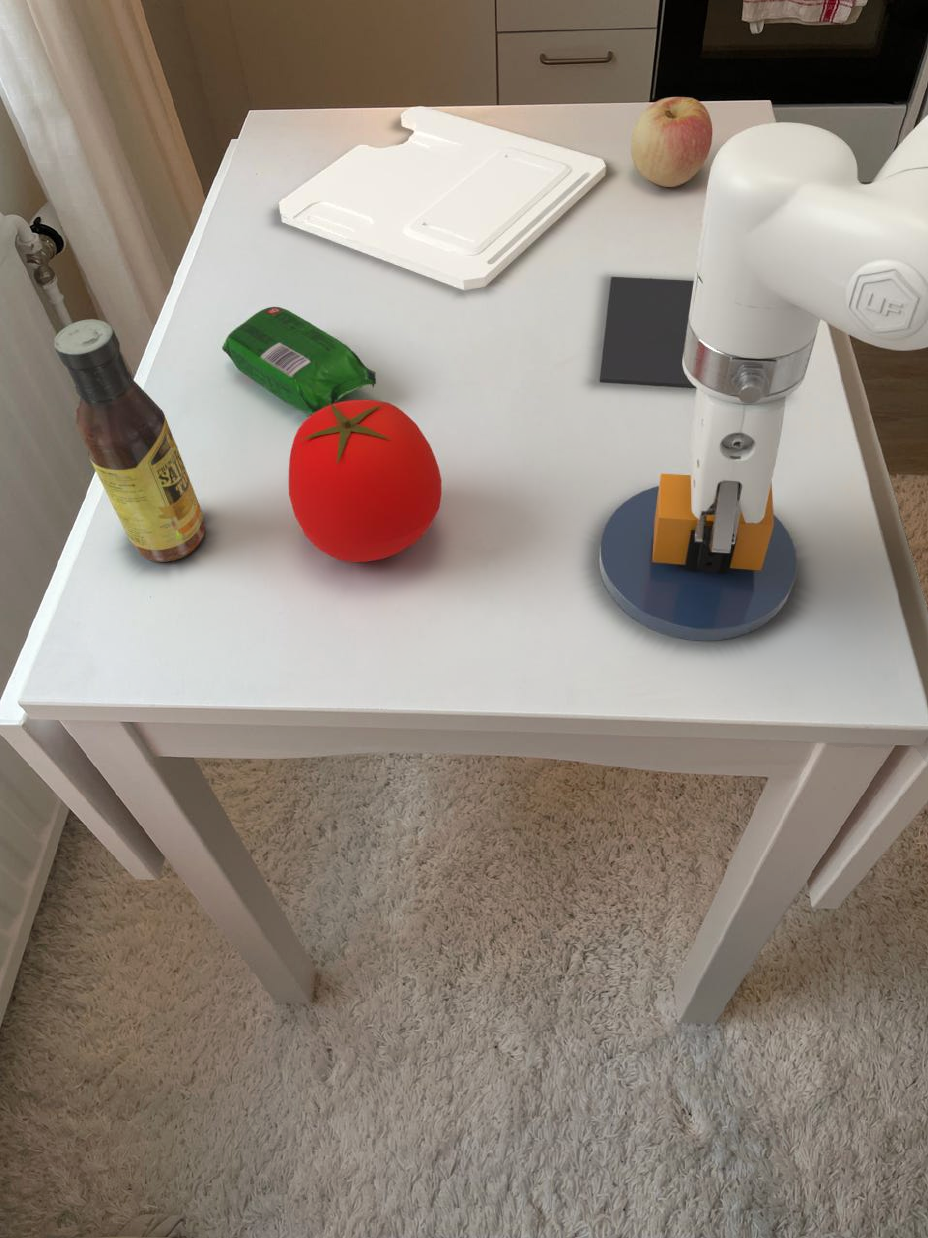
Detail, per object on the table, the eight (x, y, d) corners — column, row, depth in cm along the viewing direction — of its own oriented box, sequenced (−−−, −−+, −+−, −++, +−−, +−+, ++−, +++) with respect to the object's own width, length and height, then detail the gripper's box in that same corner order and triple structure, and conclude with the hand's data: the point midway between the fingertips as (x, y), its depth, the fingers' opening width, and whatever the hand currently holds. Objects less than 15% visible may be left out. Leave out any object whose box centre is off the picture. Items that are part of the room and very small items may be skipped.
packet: (759, 526, 74) (771, 479, 70) (761, 570, 71) (774, 525, 67) (654, 519, 75) (660, 473, 71) (652, 562, 72) (658, 517, 68)
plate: (788, 501, 79) (792, 489, 77) (797, 650, 70) (802, 639, 69) (605, 487, 81) (607, 475, 79) (592, 630, 72) (593, 619, 71)
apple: (704, 158, 111) (715, 86, 104) (706, 200, 106) (718, 127, 99) (629, 157, 112) (635, 85, 106) (626, 198, 107) (633, 126, 100)
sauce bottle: (209, 559, 78) (128, 363, 62) (132, 571, 78) (31, 377, 62) (208, 502, 82) (132, 303, 66) (135, 513, 82) (40, 316, 66)
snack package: (327, 441, 86) (317, 396, 82) (220, 367, 92) (206, 322, 88) (384, 401, 89) (378, 356, 84) (276, 333, 95) (266, 287, 91)
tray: (271, 218, 108) (269, 205, 107) (417, 111, 121) (416, 99, 120) (476, 294, 98) (475, 281, 96) (611, 169, 111) (612, 156, 109)
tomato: (271, 542, 79) (235, 427, 69) (369, 463, 84) (349, 345, 74) (379, 617, 74) (356, 505, 64) (476, 528, 79) (470, 411, 68)
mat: (771, 287, 96) (771, 284, 95) (776, 393, 87) (777, 389, 86) (611, 279, 98) (611, 276, 98) (599, 381, 89) (599, 378, 88)
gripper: (819, 444, 53) (759, 636, 67) (803, 267, 63) (754, 468, 77) (682, 436, 54) (652, 627, 69) (687, 264, 64) (660, 463, 78)
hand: (706, 541), depth 73 cm, fingers closed on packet, 4 cm apart
